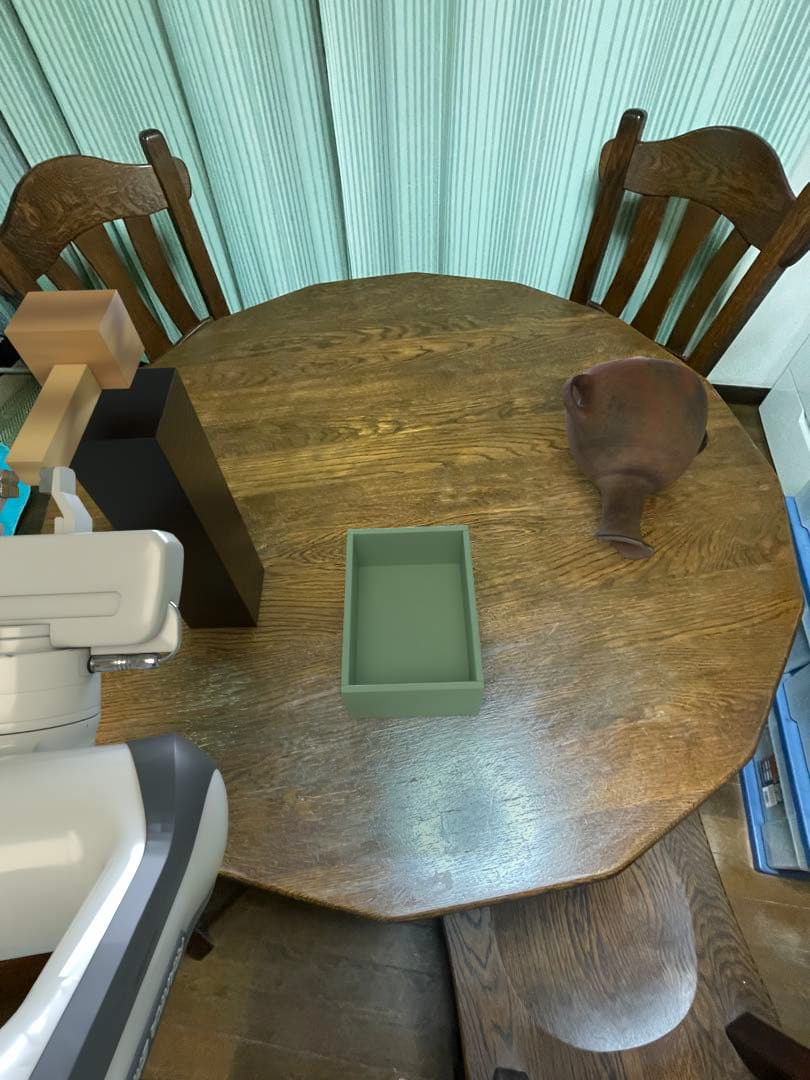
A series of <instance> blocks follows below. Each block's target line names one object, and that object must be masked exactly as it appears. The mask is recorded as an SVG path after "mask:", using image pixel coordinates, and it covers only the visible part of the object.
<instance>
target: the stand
mask: <svg viewBox="0 0 810 1080" xmlns="http://www.w3.org/2000/svg"><path fill="white" fill-rule="evenodd" d="M68 468H70V469H73V471H74V472H75V476H76V481H78V483H79V484H80V485H81V487H82V488H83V490H84V491H85V493H87V495H88V496H89V498H91V500H92V501H93V503H94V504H95V505H96V507H97V508H98V509H99V510H100V512H101V513H102V514H103V516H104V517H105V519H106V520H107V521H108V522H109V524H110V525H111V526H112V527H113V529H114V530H115V531H134V530H159V531H164V532H168V533H171V534H173V535H174V536H175V537H176V538H177V539H178V540H179V542H180V543H181V544H182V546H183V549H184V561H183V576H182V585H181V593H180V599H179V605H178V609H179V611H180V614H181V617H182V621H184V622H185V624H186V625H187V626H188V628H189V629H190V630H196V629H197V630H198V629H225V628H226V629H227V628H228V629H229V628H255V627H258V622H259V614H260V606H261V599H262V592H263V583H264V575H265V568H264V565H263V563H262V561H261V559H260V556H259V554H258V552H257V551H258V550H257V549H256V547H255V544H254V542H253V540H252V538H251V535H250V533H249V531H248V529H247V525H246V524H245V521H244V520H243V517H242V514H241V512H240V510H239V508H238V505H237V503H236V500H235V498H234V497H233V494H232V492H231V489H230V487H229V484H228V482H227V480H226V477H225V475H224V474H223V471H222V468H221V467H220V464H219V462H218V460H217V458H216V455H215V453H214V451H213V448H212V446H211V444H210V442H209V439H208V437H207V435H206V432H205V430H204V428H203V425H202V423H201V420H200V419H199V416H198V414H197V412H196V409H195V407H194V405H193V402H192V400H191V398H190V396H189V393H188V391H187V388H186V387H185V384H184V382H183V380H182V377H181V375H180V373H179V370H178V367H176V366H170V367H169V366H168V367H143V368H141V367H140V368H139V367H138V368H137V370H136V373H135V375H134V378H133V381H132V383H131V386H130V388H129V389H102V391H101V394H100V396H99V398H98V401H97V403H96V405H95V407H94V410H93V412H92V414H91V417H90V419H89V421H88V424H87V426H86V428H85V431H84V433H83V435H82V437H81V440H80V442H79V444H78V447H77V449H76V451H75V454H74V456H73V458H72V461H71V463H70V465H69V467H68Z"/></svg>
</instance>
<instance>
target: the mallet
mask: <svg viewBox="0 0 810 1080" xmlns="http://www.w3.org/2000/svg"><path fill="white" fill-rule="evenodd" d="M3 333H4V334H5V336H6V337H7V339H8V341H9V342H10V343H11V345H12V346H13V348H14V349H15V350H16V352H17V353H18V355H19V356H20V358H21V359H22V360H23V362H24V363H25V365H26V366H27V368H28V369H29V370H30V372H31V373H32V375H33V376H34V378H35V379H36V381H37V382H38V383H39V385H40V387H41V390H40V392H39V394H38V396H37V397H36V399H35V401H34V403H33V405H32V407H31V409H30V411H29V413H28V415H27V417H26V419H25V421H24V423H23V424H22V426H21V428H20V430H19V432H18V434H17V436H16V438H15V440H14V442H13V444H12V446H11V448H10V449H9V451H8V453H7V455H6V457H5V460H4V463H5V464H6V465H7V467H8V468H9V469H10V471H13V472H14V473H15V474H16V475H17V476H18V477H19V481H21V482H22V483H23V485H25V486H26V487H31V486H34V487H35V486H38V487H39V482H40V481H41V478H40V476H39V471H40V469H41V468H44V467H67V468H68V467H69V465H70V463H71V461H72V458H73V456H74V454H75V451H76V449H77V447H78V444H79V442H80V440H81V437H82V435H83V433H84V431H85V428H86V426H87V424H88V421H89V419H90V417H91V414H92V412H93V410H94V407H95V405H96V403H97V401H98V398H99V396H100V394H101V391H102V389H129V388H130V386H131V383H132V381H133V378H134V375H135V373H136V370H137V369H138V368H139V365H140V363H141V360H142V358H143V355H144V353H145V350H146V348H145V346H144V344H143V342H142V340H141V338H140V336H139V333H138V331H137V330H136V327H135V325H134V323H133V321H132V319H131V316H130V314H129V313H128V310H127V308H126V307H125V304H124V301H123V300H122V298H121V296H120V294H119V292H118V290H117V289H113V288H111V289H88V290H87V289H85V290H84V289H83V290H81V289H80V290H78V289H77V290H48V291H45V290H43V291H28V292H27V293H26V295H25V296H24V298H23V300H22V302H21V303H20V305H19V306H18V308H17V309H16V311H15V312H14V314H13V316H12V318H11V319H10V320H9V323H8V324H7V326H6V327H5V329H4V331H3Z"/></svg>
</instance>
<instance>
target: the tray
mask: <svg viewBox="0 0 810 1080" xmlns="http://www.w3.org/2000/svg"><path fill="white" fill-rule="evenodd" d="M470 537H471V536H470V527H469V525H468V524H467V525H441V526H440V525H439V526H410V527H409V526H408V527H383V528H355V529H353V528H352V529H351V528H350V529H347V530H346V550H345V552H346V553H345V571H344V572H345V573H344V575H345V576H344V597H343V599H344V600H343V602H344V603H343V622H342V623H343V625H342V651H341V674H340V675H341V676H340V694H341V697H342V701H343V704H344V706H345V708H346V711H347V712H346V713H347V715H348V718H349V720H372V719H373V720H374V719H405V718H407V719H408V718H409V719H411V718H438V717H439V718H441V717H443V718H444V717H471V716H472V717H473V716H474V717H475V716H476V717H477V716H479V714H480V709H481V706H482V705H481V704H482V701H483V697H484V692H485V686H486V685H485V676H484V668H483V658H482V648H481V647H482V646H481V638H480V637H481V636H480V628H479V617H478V608H477V598H476V597H477V596H476V587H475V578H474V567H473V558H472V549H471V538H470Z"/></svg>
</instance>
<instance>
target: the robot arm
mask: <svg viewBox="0 0 810 1080" xmlns="http://www.w3.org/2000/svg"><path fill="white" fill-rule="evenodd" d="M39 476H40V478H41V481H40V482H39V485H38V493H40V494H44V495H49V496H52V497H53V500H54V501H55V503H56V506H57V507H58V509H59V511H60V513H61V514H62V516H56V517H55V518H54V526H53V527H54V528H53V530H54V531H53V533H44V534H43V533H42V534H41V533H39V534H21V535H20V534H19V535H18V534H17V535H5V524H4V523H1V522H0V962H1V961H6V960H11V959H18V958H23V957H28V956H35V955H39V954H46V953H51V952H52V953H51V955H50V957H49V959H48V960H47V962H46V963H45V965H44V967H43V968H42V970H41V972H40V974H39V975H38V977H37V979H36V980H35V982H34V984H33V985H32V987H31V989H30V990H29V992H28V994H27V995H26V997H25V999H24V1000H23V1002H22V1003H21V1005H20V1006H19V1007H18V1009H17V1010H16V1011H15V1013H13V1014H12V1016H11V1017H10V1018H9V1019H8V1020H7V1021H6V1022H5V1024H4V1025H3V1026H1V1028H0V1080H142V1079H143V1076H144V1073H145V1070H146V1067H147V1064H148V1062H149V1059H150V1055H151V1053H152V1049H153V1046H154V1043H155V1041H156V1037H157V1035H158V1033H159V1032H158V1031H159V1030H160V1026H161V1024H162V1023H161V1022H162V1020H163V1017H164V1013H165V1011H166V1008H167V1005H168V1003H169V999H170V997H171V993H172V990H173V988H174V985H175V982H176V978H177V975H178V972H179V969H180V967H181V964H182V961H183V958H184V955H185V953H186V950H187V947H188V944H189V942H190V939H191V936H192V934H193V932H194V930H195V928H196V926H197V924H198V921H199V919H200V918H201V916H202V914H203V912H204V910H205V908H206V907H207V905H208V903H209V901H210V899H211V897H212V894H213V892H214V888H215V884H216V881H217V877H218V875H219V873H220V870H221V868H222V865H223V860H224V856H225V853H226V849H227V842H228V834H229V802H228V795H227V789H226V784H225V782H224V779H223V775H222V770H221V766H220V765H219V764H218V762H217V761H215V760H214V759H213V758H212V757H211V756H210V755H209V754H208V753H207V752H205V751H204V750H203V749H202V748H200V747H199V746H198V745H196V744H195V743H193V742H192V741H191V740H189V739H188V738H186V737H184V736H182V735H181V734H180V733H178V732H170V733H169V732H168V733H163V734H158V735H153V736H152V735H151V736H146V737H141V738H140V737H139V738H135V739H129V740H125V741H124V742H123V743H113V744H103V745H96V738H97V733H98V728H99V726H100V723H101V719H102V673H103V672H104V673H105V672H121V671H125V670H140V671H150V670H155V669H159V668H160V667H161V666H162V664H163V663H166V662H168V661H170V660H171V659H173V658H174V657H175V656H176V654H178V652H179V651H180V649H181V646H182V643H183V618H182V617H181V614H180V611H179V609H178V605H179V599H180V593H181V585H182V576H183V561H184V549H183V546H182V544H181V543H180V542H179V540H178V539H177V538H176V537H175V536H174V535H173V534H171V533H168V532H164V531H159V530H134V531H116V530H115V531H114V530H112V531H111V530H110V531H93V518H92V517H91V515H90V513H89V512H88V510H87V509H86V507H85V506H84V504H83V502H82V501H81V499H80V497H79V496H78V495H76V491H77V490H76V487H77V486H76V483H77V482H76V481H77V479H76V476H75V472H74V471H73V469H70V468H67V467H44V468H41V469H40V471H39ZM19 483H20V479H19V477H18V476H17V475H16V474H15V473H14V472H13V471H12V470H9V469H6V468H0V515H1V514H2V511H3V510H4V509H5V506H6V504H7V502H8V501H9V499H19V498H20V487H19V486H18V485H19ZM161 653H166V654H165V655H162V654H161Z"/></svg>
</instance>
